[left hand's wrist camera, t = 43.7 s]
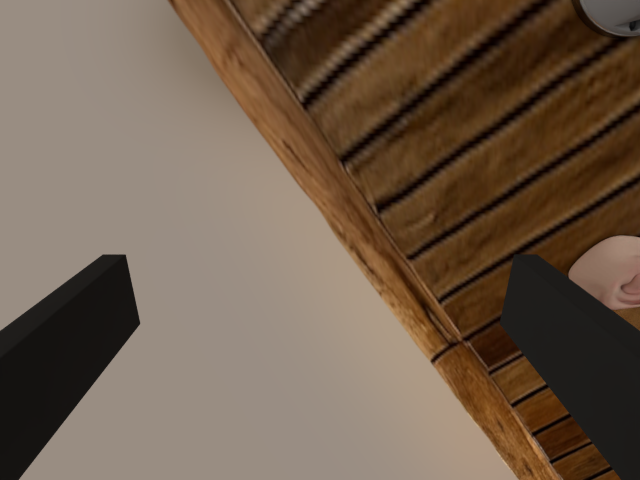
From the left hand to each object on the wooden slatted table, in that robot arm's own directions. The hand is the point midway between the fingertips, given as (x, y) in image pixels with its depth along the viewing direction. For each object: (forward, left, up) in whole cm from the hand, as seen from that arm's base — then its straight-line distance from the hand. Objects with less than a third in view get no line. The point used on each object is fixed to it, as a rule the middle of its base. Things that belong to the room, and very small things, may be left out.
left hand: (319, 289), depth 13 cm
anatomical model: (-21, +42, -37) cm, 60 cm away
